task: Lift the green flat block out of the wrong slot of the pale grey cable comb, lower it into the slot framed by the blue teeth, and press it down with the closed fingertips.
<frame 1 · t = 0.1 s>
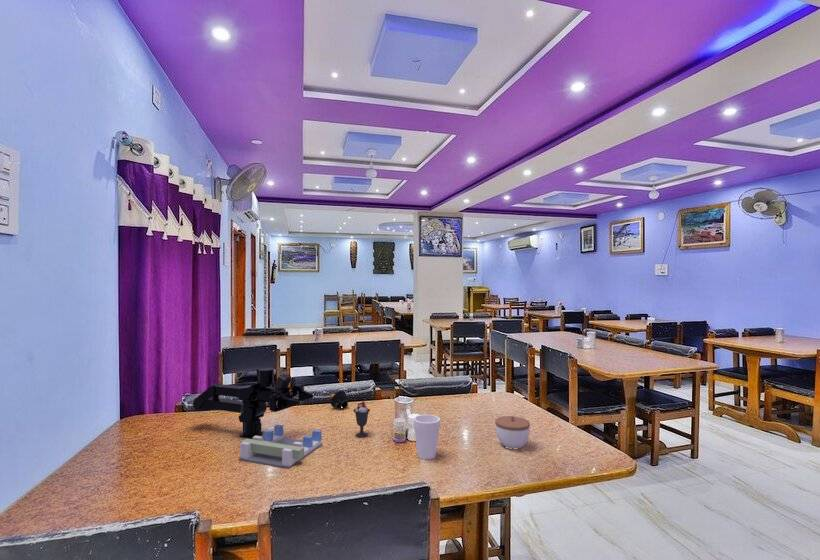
hand: (306, 399, 155), 17 cm above the table, tool horizontal, fingers open, 9 cm apart
green flat block: (271, 453, 140), point 2 cm above the table, touching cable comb
lidded bowl: (512, 446, 152), on the table
sundae: (361, 435, 162), on the table
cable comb: (282, 452, 146), on the table
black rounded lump: (337, 406, 202), on the table
foam cup: (426, 456, 143), on the table
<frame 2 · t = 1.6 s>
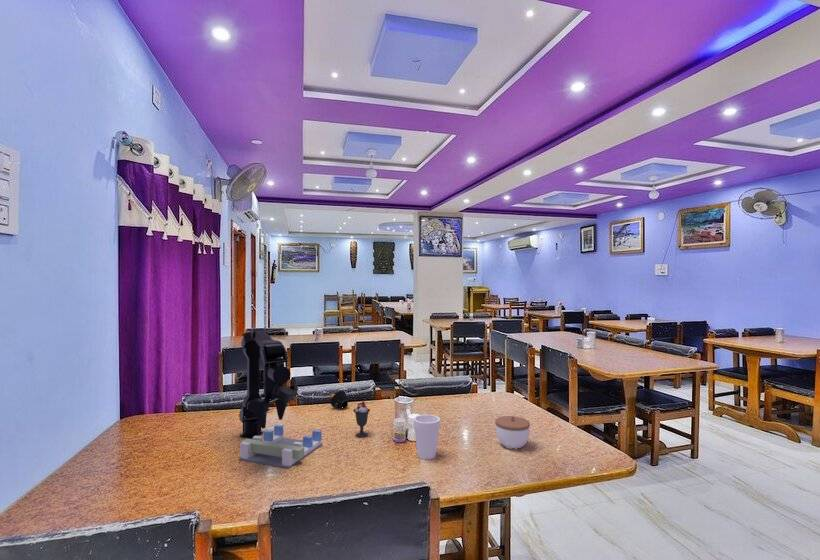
hand: (272, 423, 140), 12 cm above the table, tool pointing down, fingers open, 9 cm apart
nothing on the table moved.
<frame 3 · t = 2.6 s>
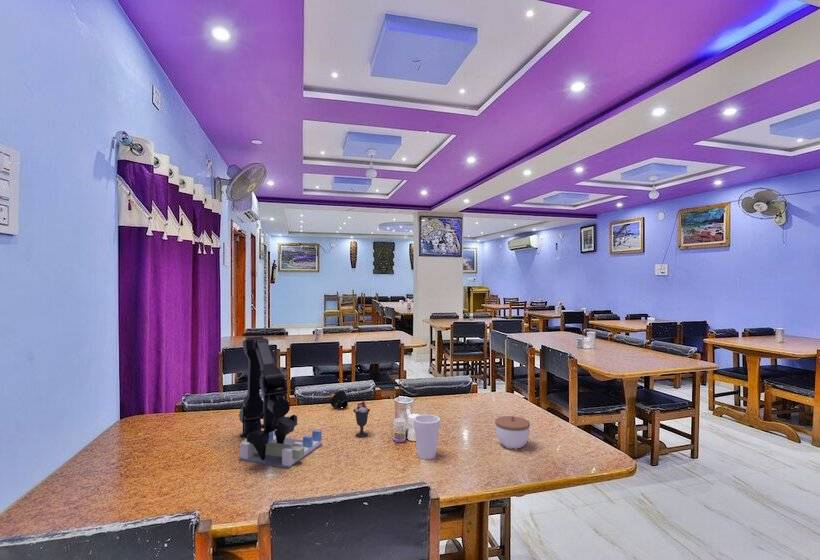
hand: (271, 454, 140), 2 cm above the table, tool pointing down, fingers open, 9 cm apart
nothing on the table moved.
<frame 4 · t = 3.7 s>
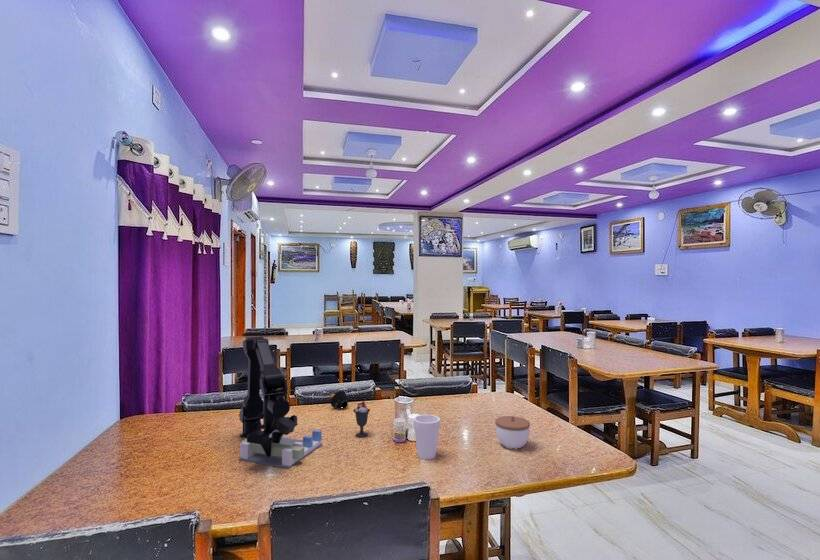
hand: (271, 454, 140), 2 cm above the table, tool pointing down, fingers closed on green flat block, 3 cm apart
green flat block: (271, 453, 140), point 2 cm above the table, touching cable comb, gripper
everything else where it was.
when the fingers open (2 cm above the table, at t = 7.2 s): green flat block stays where it is, resting on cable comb.
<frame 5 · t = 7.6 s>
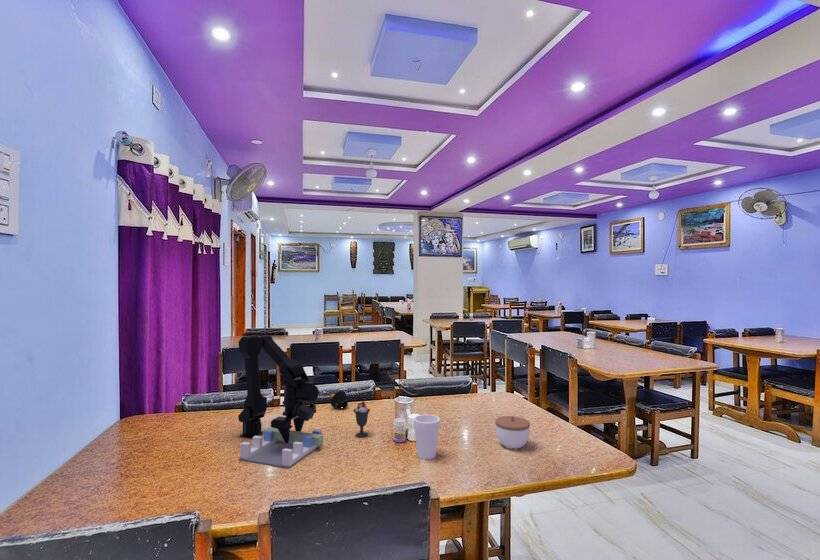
hand: (292, 439, 152), 2 cm above the table, tool pointing down, fingers open, 7 cm apart
green flat block: (292, 440, 152), point 2 cm above the table, touching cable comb
everything else where it was.
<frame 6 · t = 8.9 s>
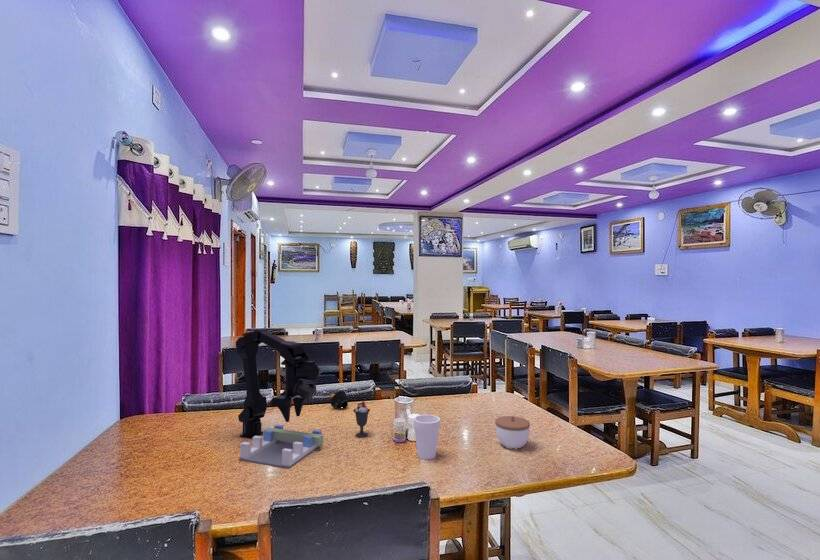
hand: (292, 419, 152), 10 cm above the table, tool pointing down, fingers open, 6 cm apart
nothing on the table moved.
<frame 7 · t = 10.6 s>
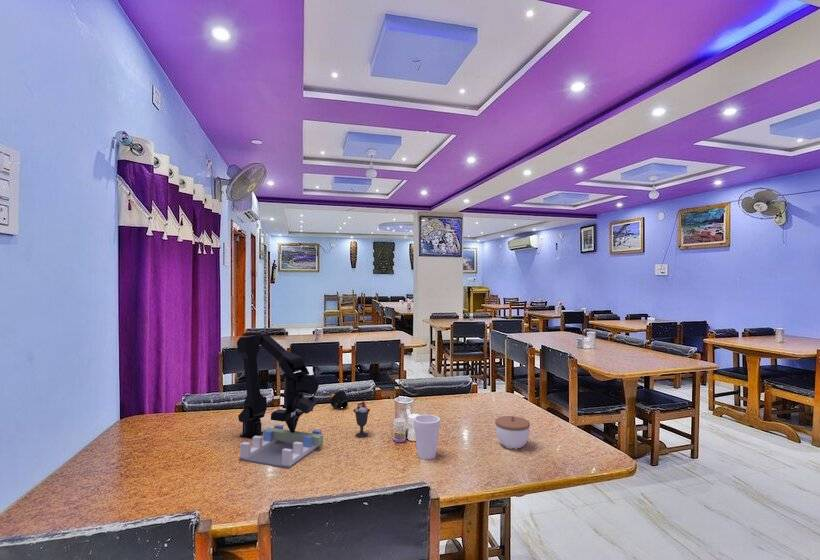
hand: (292, 432, 152), 5 cm above the table, tool pointing down, fingers closed, pressing on green flat block
green flat block: (292, 440, 152), point 2 cm above the table, touching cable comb, gripper
everything else where it was.
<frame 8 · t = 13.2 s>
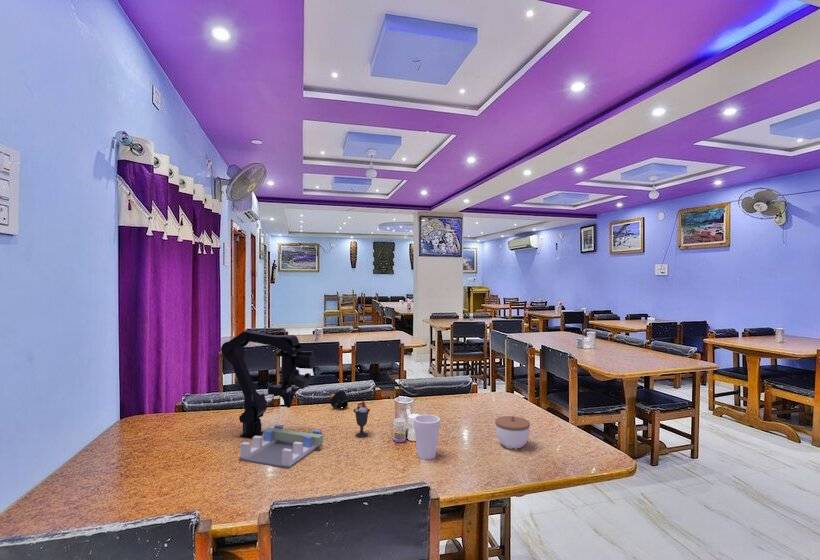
hand: (288, 407, 159), 12 cm above the table, tool pointing down, fingers closed
green flat block: (292, 440, 152), point 2 cm above the table, touching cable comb
everything else where it was.
at the end: green flat block 0.0 cm from the target spot on the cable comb, point 2.0 cm above the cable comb's base; green flat block tilted 0°; the gripper is holding nothing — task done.
